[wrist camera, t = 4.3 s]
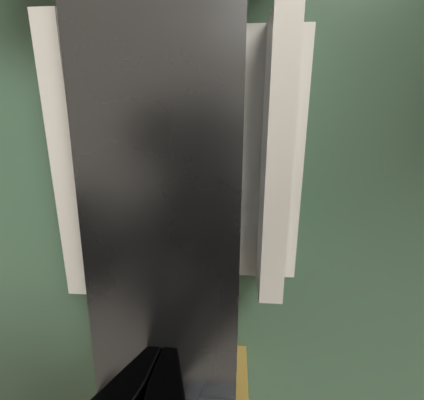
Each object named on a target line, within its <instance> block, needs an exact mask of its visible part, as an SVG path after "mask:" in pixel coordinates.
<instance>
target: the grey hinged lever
mask: <svg viewBox="0 0 424 400" xmlns="http://www.w3.org/2000/svg"><path fill="white" fill-rule="evenodd" d="M56 7H57V17H58V26H59V36H60V45H61V55H62V65H63V74H64V84H65V93H66V103H67V112H68V122H69V132H70V141H71V151H72V160H73V170H74V180H75V189H76V199H77V208H78V218H79V227H80V237H81V247H82V256H83V266H84V275H85V285H86V294H87V304H88V314H89V323H90V333H91V342H92V352H93V361H94V371H95V381H96V390H97V393H98V392H99V391H100V390H101V389H102V388H103V387H104V386H105V385H106V384H107V383H109V382H110V381H111V380H112V379H113V378H114V377H115V376H116V375H117V374H118V373H119V372H120V371H121V370H122V369H124V368H125V367H126V366H127V365H128V364H129V363H130V362H131V361H132V360H133V359H134V358H135V357H136V356H138V355H139V354H140V353H141V352H142V351H143V350H144V349H145V348H146V347H148V346H156V347H161V348H162V349H163V347H173V348H177V349H178V353H179V359H180V366H181V372H182V378H183V384H184V390H185V396H186V400H236V374H237V340H238V305H239V271H240V236H241V201H242V167H243V132H244V98H245V63H246V29H247V0H56ZM97 393H96V394H97Z"/></svg>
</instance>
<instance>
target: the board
mask: <svg viewBox="0 0 424 400" xmlns="http://www.w3.org/2000/svg"><path fill="white" fill-rule="evenodd" d="M96 393H97V390H96V381H95V371H94V361H93V352H92V342H91V333H90V323H89V314H88V304H87V294H86V285H85V275H84V266H83V256H82V247H81V237H80V227H79V218H78V208H77V199H76V189H75V180H74V170H73V160H72V151H71V141H70V132H69V122H68V112H67V103H66V93H65V84H64V74H63V65H62V55H61V45H60V36H59V26H58V17H57V7H56V0H0V400H90V399H91V398H92V397H94V396H95V395H96ZM236 400H424V0H247V29H246V63H245V98H244V132H243V167H242V201H241V236H240V271H239V305H238V340H237V374H236Z"/></svg>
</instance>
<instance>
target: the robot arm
mask: <svg viewBox="0 0 424 400" xmlns="http://www.w3.org/2000/svg"><path fill="white" fill-rule="evenodd" d="M90 400H186V396H185V390H184V384H183V378H182V372H181V366H180V359H179V353H178V349H177V348H173V347H163V349H162V348H161V347H156V346H148V347H146V348H145V349H144V350H143V351H142V352H141V353H140V354H139V355H138V356H136V357H135V358H134V359H133V360H132V361H131V362H130V363H129V364H128V365H127V366H126V367H125V368H124V369H122V370H121V371H120V372H119V373H118V374H117V375H116V376H115V377H114V378H113V379H112V380H111V381H110V382H109V383H107V384H106V385H105V386H104V387H103V388H102V389H101V390H100V391H99V392H98V393H97V394H96V395H95V396H94V397H92V398H91V399H90Z"/></svg>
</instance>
